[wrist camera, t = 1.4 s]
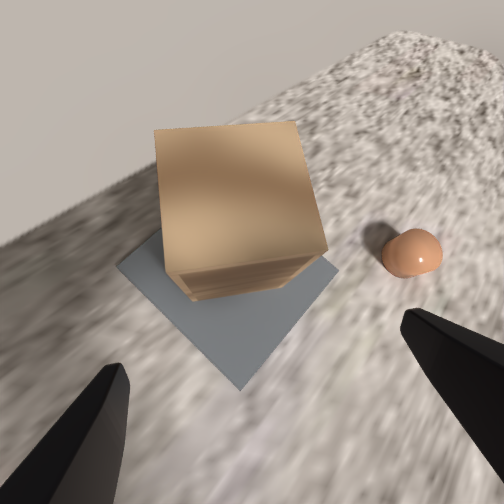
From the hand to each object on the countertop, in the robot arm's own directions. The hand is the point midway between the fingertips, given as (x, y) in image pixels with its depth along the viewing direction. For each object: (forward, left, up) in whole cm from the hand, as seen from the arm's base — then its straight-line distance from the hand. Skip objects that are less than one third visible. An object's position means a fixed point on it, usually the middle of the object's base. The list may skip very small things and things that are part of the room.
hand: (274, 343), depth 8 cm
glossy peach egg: (-6, -14, -13) cm, 20 cm away
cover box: (+5, -4, -12) cm, 14 cm away
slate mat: (+4, -3, -13) cm, 14 cm away
